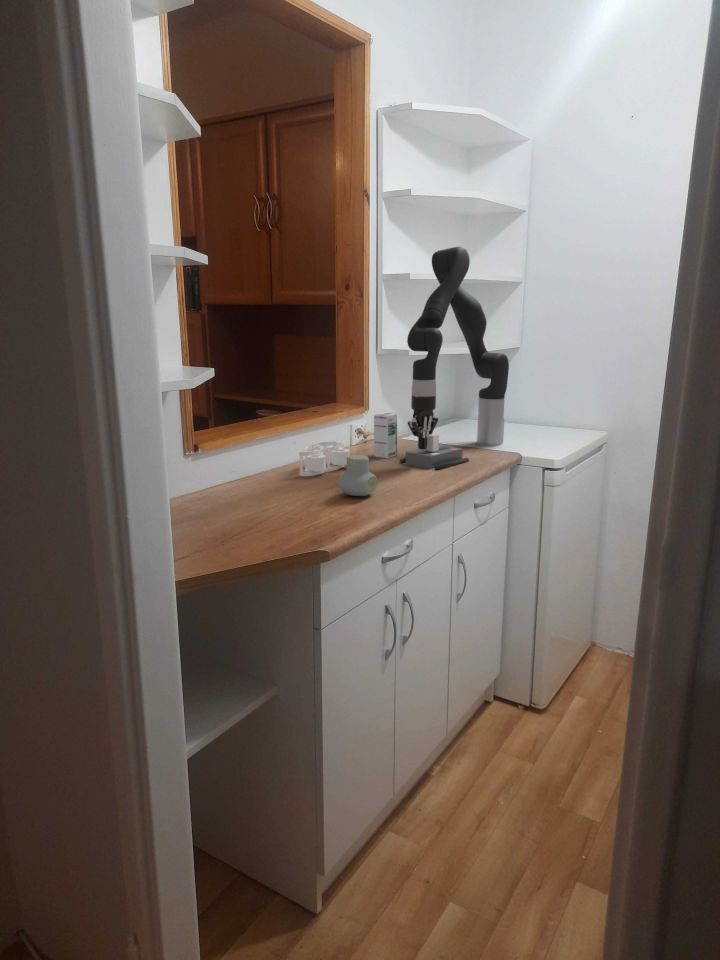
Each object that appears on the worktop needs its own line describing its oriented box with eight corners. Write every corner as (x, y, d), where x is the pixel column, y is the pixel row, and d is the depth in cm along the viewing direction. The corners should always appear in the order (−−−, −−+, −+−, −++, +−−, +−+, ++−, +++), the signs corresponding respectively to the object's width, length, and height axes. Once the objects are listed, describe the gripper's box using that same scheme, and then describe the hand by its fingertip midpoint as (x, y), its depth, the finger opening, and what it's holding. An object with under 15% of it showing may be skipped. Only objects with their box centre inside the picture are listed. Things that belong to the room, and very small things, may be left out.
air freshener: (353, 487, 187) (353, 452, 185) (380, 491, 184) (380, 454, 181) (334, 496, 178) (333, 459, 176) (362, 500, 174) (362, 462, 172)
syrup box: (387, 458, 225) (388, 415, 221) (373, 456, 228) (373, 413, 225) (397, 456, 229) (398, 413, 226) (383, 453, 233) (383, 411, 229)
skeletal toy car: (313, 478, 198) (312, 454, 196) (286, 473, 205) (285, 449, 203) (356, 467, 213) (356, 444, 211) (330, 462, 220) (330, 440, 218)
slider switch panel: (431, 455, 230) (431, 451, 230) (469, 461, 220) (469, 457, 220) (398, 463, 218) (398, 458, 218) (437, 470, 208) (437, 466, 207)
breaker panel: (437, 456, 228) (438, 444, 227) (462, 460, 222) (462, 448, 221) (405, 464, 216) (405, 451, 215) (430, 469, 210) (430, 456, 209)
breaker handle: (428, 448, 219) (429, 433, 218) (438, 450, 216) (439, 435, 215) (422, 450, 217) (423, 434, 216) (432, 451, 214) (433, 436, 213)
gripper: (427, 391, 216) (426, 444, 220) (400, 394, 207) (399, 450, 211) (446, 393, 211) (444, 447, 215) (420, 396, 202) (418, 453, 206)
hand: (422, 449), depth 213 cm, fingers closed
